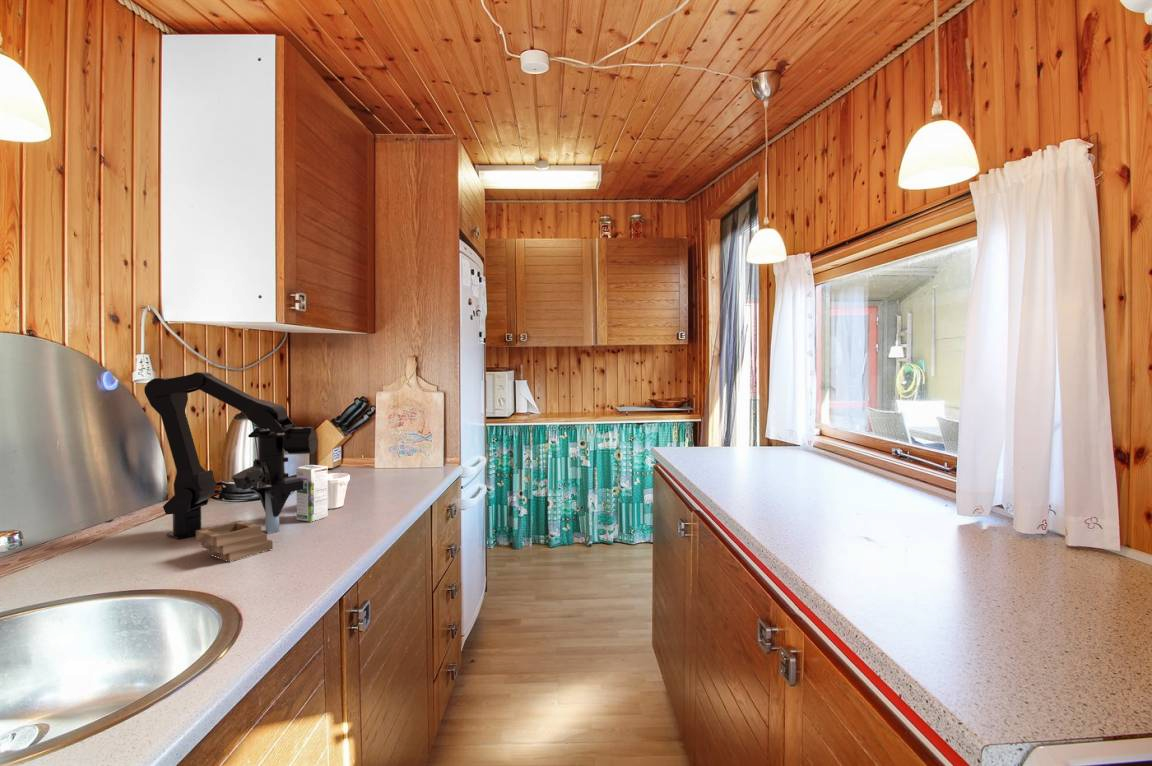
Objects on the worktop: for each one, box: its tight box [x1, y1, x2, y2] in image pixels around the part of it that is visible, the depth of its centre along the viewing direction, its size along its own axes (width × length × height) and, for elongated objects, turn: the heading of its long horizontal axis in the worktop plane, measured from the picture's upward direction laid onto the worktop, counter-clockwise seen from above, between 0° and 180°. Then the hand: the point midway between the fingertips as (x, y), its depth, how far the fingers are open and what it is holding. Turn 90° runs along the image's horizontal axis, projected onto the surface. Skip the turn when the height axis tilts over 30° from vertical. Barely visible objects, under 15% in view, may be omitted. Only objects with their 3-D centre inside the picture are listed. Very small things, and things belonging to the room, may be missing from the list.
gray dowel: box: [264, 493, 280, 533], centre depth 130 cm, size 3×3×10 cm
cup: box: [328, 472, 351, 510], centre depth 153 cm, size 10×10×9 cm
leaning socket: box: [195, 520, 274, 562], centre depth 114 cm, size 9×11×6 cm
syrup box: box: [296, 464, 329, 523], centre depth 141 cm, size 6×6×14 cm
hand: (272, 515), depth 130 cm, fingers closed on gray dowel, 3 cm apart
